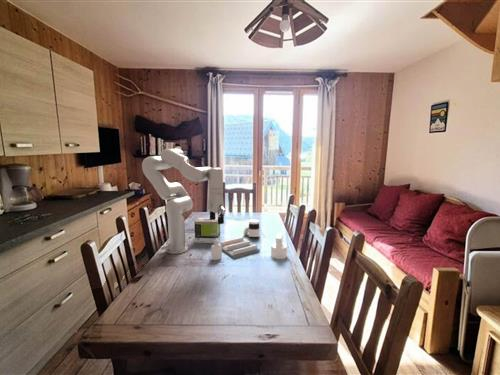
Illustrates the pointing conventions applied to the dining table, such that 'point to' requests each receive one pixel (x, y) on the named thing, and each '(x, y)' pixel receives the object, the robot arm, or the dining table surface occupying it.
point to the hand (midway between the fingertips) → (216, 221)
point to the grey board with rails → (238, 247)
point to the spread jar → (253, 229)
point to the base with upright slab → (279, 248)
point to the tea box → (206, 230)
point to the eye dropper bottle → (216, 250)
